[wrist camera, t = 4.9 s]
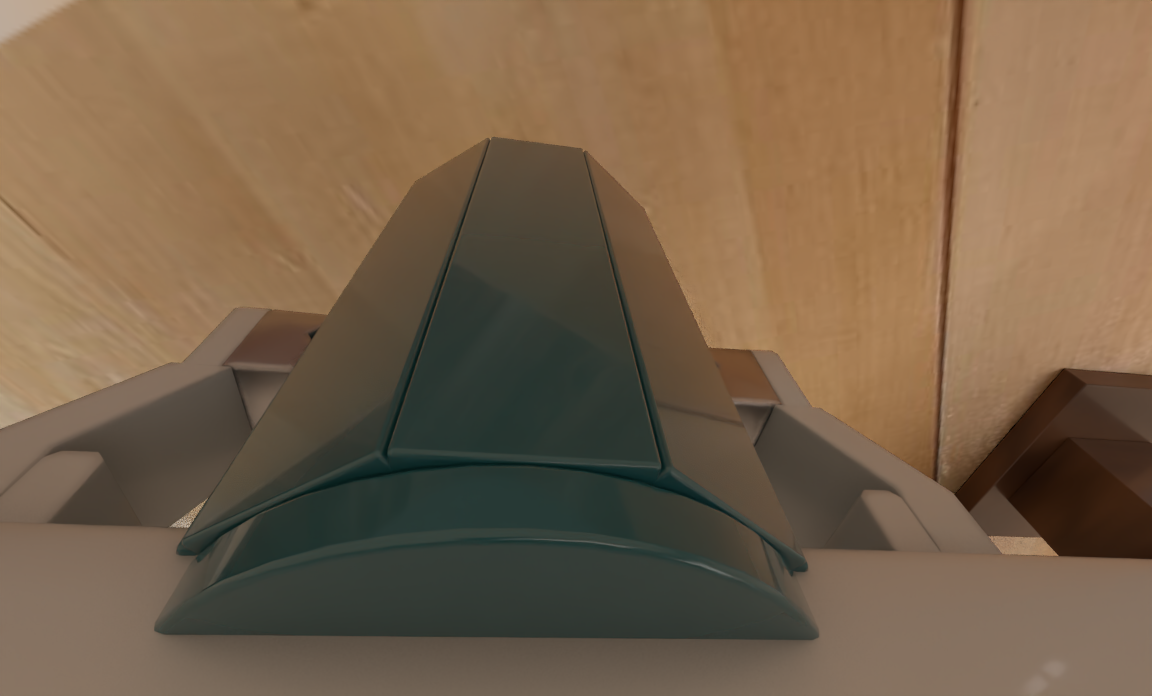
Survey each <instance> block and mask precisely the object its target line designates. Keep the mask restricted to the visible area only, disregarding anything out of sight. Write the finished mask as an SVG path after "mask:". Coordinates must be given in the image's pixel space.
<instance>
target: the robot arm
mask: <svg viewBox="0 0 1152 696" xmlns="http://www.w3.org/2000/svg"><path fill="white" fill-rule="evenodd" d="M326 317H327V315H323V314H313V313H303V312H293V311H284V310H271V309H264V308H251V307H240V308H235V309H234V310H233V311H232V312H231V313H230V314H229V315H228V316H227V317H226V318H225V319H224V320H223V321H222V322H221V323H220V324H219V325H218V326H217V327H216V328H215V329H214V330H213V331H212V332H211V333H210V334H209V335H208V336H207V337H206V339H205V340H204V341H203V342H202V343H201V344H200V345H199V346H198V347H197V348H196V349H195V350H194V351H193V352H192V353H191V354H190V355H189V356H188V357H187V358H186V359H185V360H184V361H183V362H182V363H172V362H171V363H168V364H165V365H163V366H160V367H158V368H155V369H153V370H150V371H148V372H145V373H142V374H140V375H137V376H135V377H132V378H130V379H127V380H125V381H122V382H120V383H117V384H114V385H112V386H109V387H107V388H104V389H102V390H99V391H97V392H94V393H91V394H89V395H86V396H84V397H81V398H79V399H76V400H74V401H71V402H69V403H66V404H63V405H61V406H58V407H56V408H53V409H51V410H48V411H46V412H43V413H40V414H38V415H35V416H33V417H30V418H28V419H25V420H23V421H20V422H18V423H15V424H12V425H10V426H7V427H5V428H2V429H0V696H1152V559H1131V558H1100V557H1069V556H1038V555H1008V554H1002V553H1001V552H1000V551H999V549H998V548H997V547H996V546H995V544H994V543H993V542H992V541H991V539H990V538H989V537H988V536H987V534H986V533H985V532H984V531H983V530H982V528H981V527H980V526H979V525H978V523H977V522H976V521H975V520H974V518H973V517H972V516H971V515H970V514H969V512H968V511H967V510H966V509H965V507H964V506H963V505H962V504H961V502H960V501H959V500H958V499H957V497H956V496H955V495H954V494H953V493H952V492H951V491H949V490H948V489H946V488H945V487H943V486H942V485H940V484H939V483H937V482H935V481H934V480H932V479H931V478H929V477H928V476H926V475H924V474H923V473H921V472H920V471H918V470H917V469H915V468H913V467H912V466H910V465H909V464H907V463H906V462H904V461H903V460H901V459H899V458H898V457H896V456H895V455H893V454H892V453H890V452H888V451H887V450H885V449H884V448H882V447H881V446H879V445H878V444H876V443H874V442H873V441H871V440H870V439H868V438H867V437H865V436H863V435H862V434H860V433H859V432H857V431H856V430H854V429H853V428H851V427H849V426H848V425H846V424H845V423H843V422H842V421H840V420H838V419H837V418H835V417H834V416H832V415H831V414H829V413H828V412H826V411H824V410H823V409H821V408H815V407H812V406H811V405H810V403H809V402H808V400H807V399H806V397H805V395H804V394H803V392H802V391H801V389H800V388H799V386H798V385H797V383H796V382H795V380H794V379H793V377H792V375H791V374H790V372H789V371H788V369H787V368H786V366H785V365H784V363H783V362H782V360H781V359H780V357H779V355H778V354H776V353H775V352H773V351H765V350H738V349H723V348H709V350H710V353H711V355H712V357H713V359H714V361H715V363H716V366H717V368H718V370H719V372H720V374H721V376H722V379H723V381H724V383H725V385H726V387H727V389H728V392H729V394H730V396H731V398H732V400H733V402H734V405H735V407H736V409H737V411H738V413H739V415H740V418H741V420H742V422H743V424H744V426H745V428H746V431H747V433H748V435H749V437H750V439H751V441H752V444H753V446H754V448H755V450H756V452H757V454H758V457H759V459H760V461H761V463H762V465H763V467H764V470H765V472H766V474H767V476H768V478H769V480H770V483H771V485H772V487H773V489H774V491H775V493H776V496H777V498H778V500H779V502H780V504H781V506H782V509H783V511H784V513H785V515H786V517H787V519H788V522H789V524H790V526H791V528H792V530H793V533H794V535H795V537H796V539H797V541H798V543H799V546H800V548H801V550H802V552H803V554H804V556H805V559H806V561H807V563H808V571H806V572H795V571H793V572H794V574H795V575H796V577H797V580H798V582H799V584H800V587H801V589H802V591H803V593H804V596H805V598H806V600H807V603H808V605H809V607H810V610H811V612H812V614H813V617H814V619H815V621H816V624H817V626H818V628H819V637H818V638H816V639H814V640H743V639H625V638H508V637H391V636H274V635H163V634H161V633H158V632H155V631H154V626H155V621H156V620H157V618H158V616H159V615H160V613H161V612H162V610H163V608H164V607H165V605H166V603H167V602H168V600H169V598H170V597H171V595H172V593H173V592H174V590H175V588H176V587H177V585H178V583H179V582H180V580H181V578H182V576H183V575H184V573H185V571H186V570H187V568H188V566H189V565H190V563H191V562H192V561H193V559H194V558H196V557H197V556H198V555H196V556H180V555H178V554H176V548H177V545H178V544H179V542H180V541H181V539H182V538H183V536H184V534H185V533H186V531H187V530H188V528H175V527H170V526H171V525H172V524H174V523H175V522H176V521H178V520H179V519H180V518H182V517H183V516H184V515H186V514H187V513H188V512H190V511H191V510H192V509H194V508H195V507H196V506H198V505H199V504H200V503H202V502H203V501H204V500H206V499H207V498H208V497H209V496H210V495H211V493H212V492H213V490H214V488H215V487H216V485H217V484H218V482H219V481H220V479H221V478H222V476H223V475H224V473H225V472H226V470H227V469H228V467H229V465H230V464H231V462H232V461H233V459H234V458H235V456H236V455H237V453H238V452H239V450H240V449H241V447H242V446H243V444H244V442H245V441H246V439H247V438H248V436H249V435H250V433H251V432H252V430H253V429H254V427H255V426H256V424H257V423H258V421H259V419H260V418H261V416H262V415H263V413H264V412H265V410H266V409H267V407H268V406H269V404H270V403H271V401H272V400H273V398H274V396H275V395H276V393H277V392H278V390H279V389H280V387H281V386H282V384H283V383H284V381H285V380H286V378H287V376H288V375H289V373H290V372H291V370H292V369H293V367H294V366H295V364H296V363H297V361H298V360H299V358H300V357H301V355H302V353H303V352H304V350H305V349H306V347H307V346H308V344H309V343H310V341H311V340H312V338H313V337H314V335H315V334H316V332H317V330H318V329H319V327H320V326H321V324H322V323H323V321H324V320H325V318H326Z"/></svg>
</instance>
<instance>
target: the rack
mask: <svg viewBox="0 0 1152 696" xmlns="http://www.w3.org/2000/svg"><path fill="white" fill-rule="evenodd" d="M955 496H956V497H957V499H958V500H959V501H960V502H961V504H962V505H963V506H964V507H965V509H966V510H967V511H968V512H969V514H970V515H971V516H972V517H973V518H974V520H975V521H976V522H977V523H978V525H979V526H980V527H981V528H982V530H983V531H984V532H985V533H986V534H987V536H1010V537H1042V538H1043V539H1044V540H1045V541H1046V542H1047V544H1048V545H1049V546H1050V547H1051V548H1052V549H1053V550H1054V551H1055V552H1056V553H1057V554H1058V555H1059V556H1069V557H1100V558H1131V559H1152V376H1147V375H1135V374H1123V373H1110V372H1098V371H1085V370H1073V369H1064V370H1063V371H1062V372H1061V373H1060V374H1059V375H1058V377H1057V378H1056V379H1055V380H1054V381H1053V382H1052V384H1051V385H1050V386H1049V387H1048V388H1047V389H1046V390H1045V392H1044V393H1043V394H1042V395H1041V396H1040V397H1039V399H1038V400H1037V401H1036V402H1035V403H1034V404H1033V405H1032V407H1031V408H1030V409H1029V410H1028V411H1027V412H1026V414H1025V415H1024V416H1023V417H1022V418H1021V419H1020V420H1019V422H1018V423H1017V424H1016V425H1015V426H1014V427H1013V429H1012V430H1011V431H1010V432H1009V433H1008V434H1007V435H1006V437H1005V438H1004V439H1003V440H1002V441H1001V442H1000V444H999V445H998V446H997V447H996V448H995V449H994V450H993V452H992V453H991V454H990V455H989V456H988V457H987V458H986V460H985V461H984V462H983V463H982V464H981V465H980V467H979V468H978V469H977V470H976V471H975V472H974V473H973V475H972V476H971V477H970V478H969V479H968V480H967V482H966V483H965V484H964V485H963V486H962V487H961V488H960V490H959V491H958V492H957V493H956V494H955Z"/></svg>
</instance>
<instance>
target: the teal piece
mask: <svg viewBox="0 0 1152 696" xmlns="http://www.w3.org/2000/svg"><path fill="white" fill-rule="evenodd" d="M176 554H178V555H180V556H196V555H198V556H197V557H196V558H194V559H193V561H192V562H191V563H190V565H189V566H188V568H187V570H186V571H185V573H184V575H183V576H182V578H181V580H180V582H179V583H178V585H177V587H176V588H175V590H174V592H173V593H172V595H171V597H170V598H169V600H168V602H167V603H166V605H165V607H164V608H163V610H162V612H161V613H160V615H159V616H158V618H157V620H156V621H155V626H154V631H155V632H158V633H161V634H163V635H274V636H391V637H508V638H625V639H743V640H814V639H816V638H818V637H819V628H818V626H817V624H816V621H815V619H814V617H813V614H812V612H811V610H810V607H809V605H808V603H807V600H806V598H805V596H804V593H803V591H802V589H801V587H800V584H799V582H798V580H797V577H796V575H795V574H794V572H793V571H795V572H806V571H808V563H807V561H806V559H805V556H804V554H803V552H802V550H801V548H800V546H799V543H798V541H797V539H796V537H795V535H794V533H793V530H792V528H791V526H790V524H789V522H788V519H787V517H786V515H785V513H784V511H783V509H782V506H781V504H780V502H779V500H778V498H777V496H776V493H775V491H774V489H773V487H772V485H771V483H770V480H769V478H768V476H767V474H766V472H765V470H764V467H763V465H762V463H761V461H760V459H759V457H758V454H757V452H756V450H755V448H754V446H753V444H752V441H751V439H750V437H749V435H748V433H747V431H746V428H745V426H744V424H743V422H742V420H741V418H740V415H739V413H738V411H737V409H736V407H735V405H734V402H733V400H732V398H731V396H730V394H729V392H728V389H727V387H726V385H725V383H724V381H723V379H722V376H721V374H720V372H719V370H718V368H717V366H716V363H715V361H714V359H713V357H712V355H711V353H710V350H709V348H708V346H707V344H706V342H705V339H704V337H703V335H702V333H701V331H700V329H699V326H698V324H697V322H696V320H695V318H694V316H693V313H692V311H691V309H690V307H689V305H688V303H687V300H686V298H685V296H684V294H683V292H682V290H681V287H680V285H679V283H678V281H677V279H676V277H675V274H674V272H673V270H672V268H671V266H670V264H669V261H668V259H667V257H666V255H665V253H664V251H663V248H662V246H661V244H660V242H659V240H658V238H657V235H656V233H655V231H654V229H653V227H652V225H651V222H650V220H649V218H648V216H647V214H646V212H645V209H644V208H643V207H642V206H641V205H640V204H639V203H638V202H637V201H636V200H635V199H634V198H633V197H632V196H631V195H630V194H629V193H628V192H627V191H626V190H625V189H624V188H623V187H622V186H621V185H620V184H619V183H618V182H617V181H616V180H615V179H614V178H613V177H612V176H611V175H610V174H609V173H608V172H607V171H606V170H605V169H604V168H603V167H602V166H601V165H600V164H599V163H598V162H597V161H596V160H595V159H594V158H593V157H592V156H591V155H590V154H589V153H588V152H587V151H584V152H583V149H581V148H575V147H567V146H559V145H552V144H544V143H536V142H529V141H521V140H514V139H506V138H498V137H492V138H491V140H490V139H489V138H486V139H485V140H483V141H481V142H480V143H478V144H476V145H475V146H473V147H471V148H470V149H468V150H466V151H465V152H463V153H461V154H460V155H458V156H456V157H455V158H453V159H452V160H450V161H448V162H447V163H445V164H443V165H442V166H440V167H438V168H437V169H435V170H433V171H432V172H430V173H428V174H427V175H425V176H423V177H422V178H420V179H418V180H417V181H415V183H414V184H413V185H412V186H411V188H410V189H409V191H408V192H407V194H406V195H405V197H404V199H403V200H402V202H401V203H400V205H399V206H398V208H397V209H396V211H395V212H394V214H393V215H392V217H391V218H390V220H389V222H388V223H387V225H386V226H385V228H384V229H383V231H382V232H381V234H380V235H379V237H378V238H377V240H376V242H375V243H374V245H373V246H372V248H371V249H370V251H369V252H368V254H367V255H366V257H365V258H364V260H363V261H362V263H361V265H360V266H359V268H358V269H357V271H356V272H355V274H354V275H353V277H352V278H351V280H350V281H349V283H348V284H347V286H346V288H345V289H344V291H343V292H342V294H341V295H340V297H339V298H338V300H337V301H336V303H335V304H334V306H333V307H332V309H331V311H330V312H329V314H328V315H327V317H326V318H325V320H324V321H323V323H322V324H321V326H320V327H319V329H318V330H317V332H316V334H315V335H314V337H313V338H312V340H311V341H310V343H309V344H308V346H307V347H306V349H305V350H304V352H303V353H302V355H301V357H300V358H299V360H298V361H297V363H296V364H295V366H294V367H293V369H292V370H291V372H290V373H289V375H288V376H287V378H286V380H285V381H284V383H283V384H282V386H281V387H280V389H279V390H278V392H277V393H276V395H275V396H274V398H273V400H272V401H271V403H270V404H269V406H268V407H267V409H266V410H265V412H264V413H263V415H262V416H261V418H260V419H259V421H258V423H257V424H256V426H255V427H254V429H253V430H252V432H251V433H250V435H249V436H248V438H247V439H246V441H245V442H244V444H243V446H242V447H241V449H240V450H239V452H238V453H237V455H236V456H235V458H234V459H233V461H232V462H231V464H230V465H229V467H228V469H227V470H226V472H225V473H224V475H223V476H222V478H221V479H220V481H219V482H218V484H217V485H216V487H215V488H214V490H213V492H212V493H211V495H210V496H209V498H208V499H207V501H206V502H205V504H204V505H203V507H202V508H201V510H200V511H199V513H198V515H197V516H196V518H195V519H194V521H193V522H192V524H191V525H190V527H189V528H188V530H187V531H186V533H185V534H184V536H183V538H182V539H181V541H180V542H179V544H178V545H177V548H176Z"/></svg>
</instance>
